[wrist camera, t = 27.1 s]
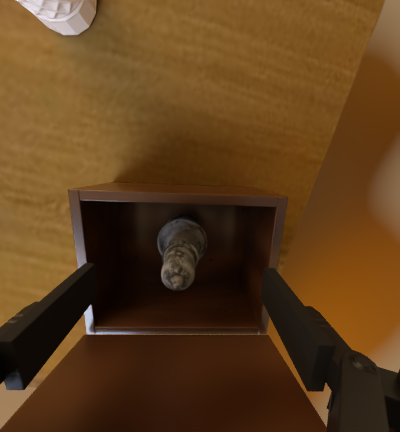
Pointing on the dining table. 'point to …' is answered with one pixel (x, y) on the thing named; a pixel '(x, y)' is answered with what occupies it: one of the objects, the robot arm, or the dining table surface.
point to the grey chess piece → (181, 250)
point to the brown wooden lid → (169, 388)
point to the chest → (152, 259)
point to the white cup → (63, 14)
